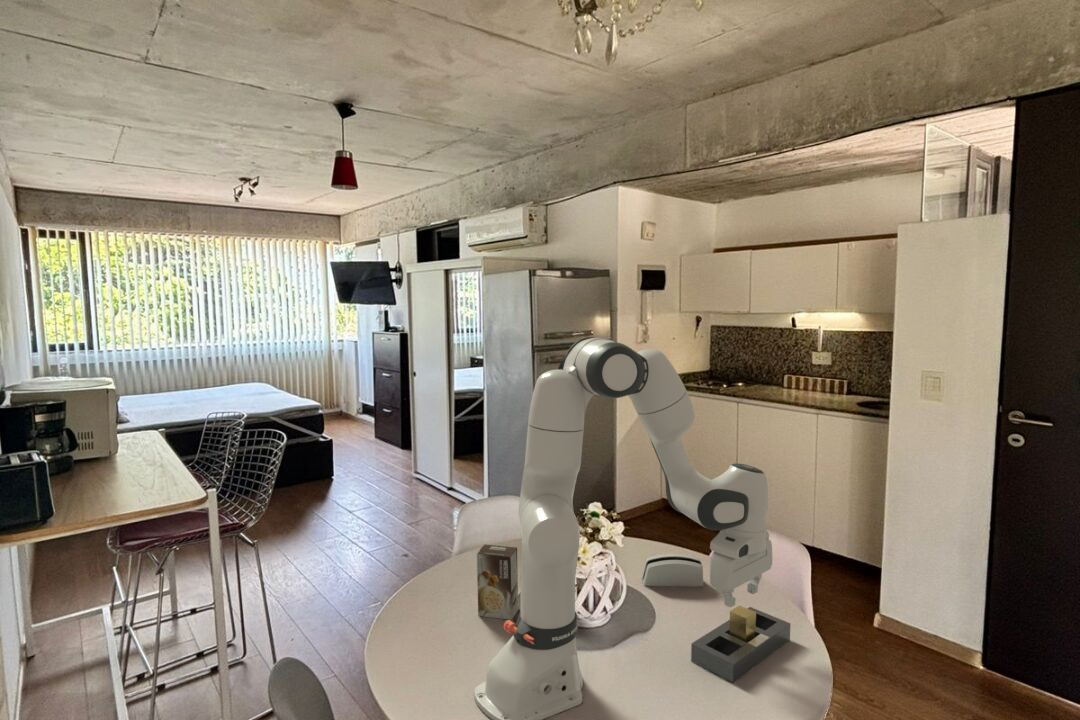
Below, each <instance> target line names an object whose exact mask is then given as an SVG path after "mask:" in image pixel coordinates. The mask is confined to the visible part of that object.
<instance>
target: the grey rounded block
mask: <svg viewBox="0 0 1080 720" xmlns="http://www.w3.org/2000/svg"><path fill="white" fill-rule="evenodd" d="M641 579H642V580H643V581H642V585H643V586H644V587H698V586H703V587H704V568H703V564H702V561H701V559H700V558H699V557H696V556H692V555H688V554H681V553H667V554H659V555H655V556H649V557H648V558H646V561H645V564H644V568H643V572H642V574H641Z"/></svg>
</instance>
